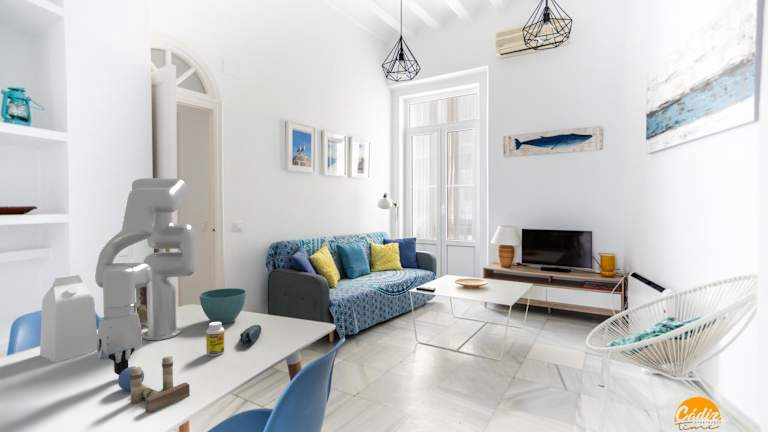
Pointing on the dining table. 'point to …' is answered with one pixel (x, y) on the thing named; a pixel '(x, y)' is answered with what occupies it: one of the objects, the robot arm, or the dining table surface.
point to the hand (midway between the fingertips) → (121, 373)
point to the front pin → (148, 391)
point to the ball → (126, 379)
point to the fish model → (250, 335)
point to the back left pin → (167, 372)
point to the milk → (68, 320)
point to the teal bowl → (223, 304)
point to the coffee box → (142, 304)
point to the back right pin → (136, 385)
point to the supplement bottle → (215, 339)
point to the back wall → (167, 397)
